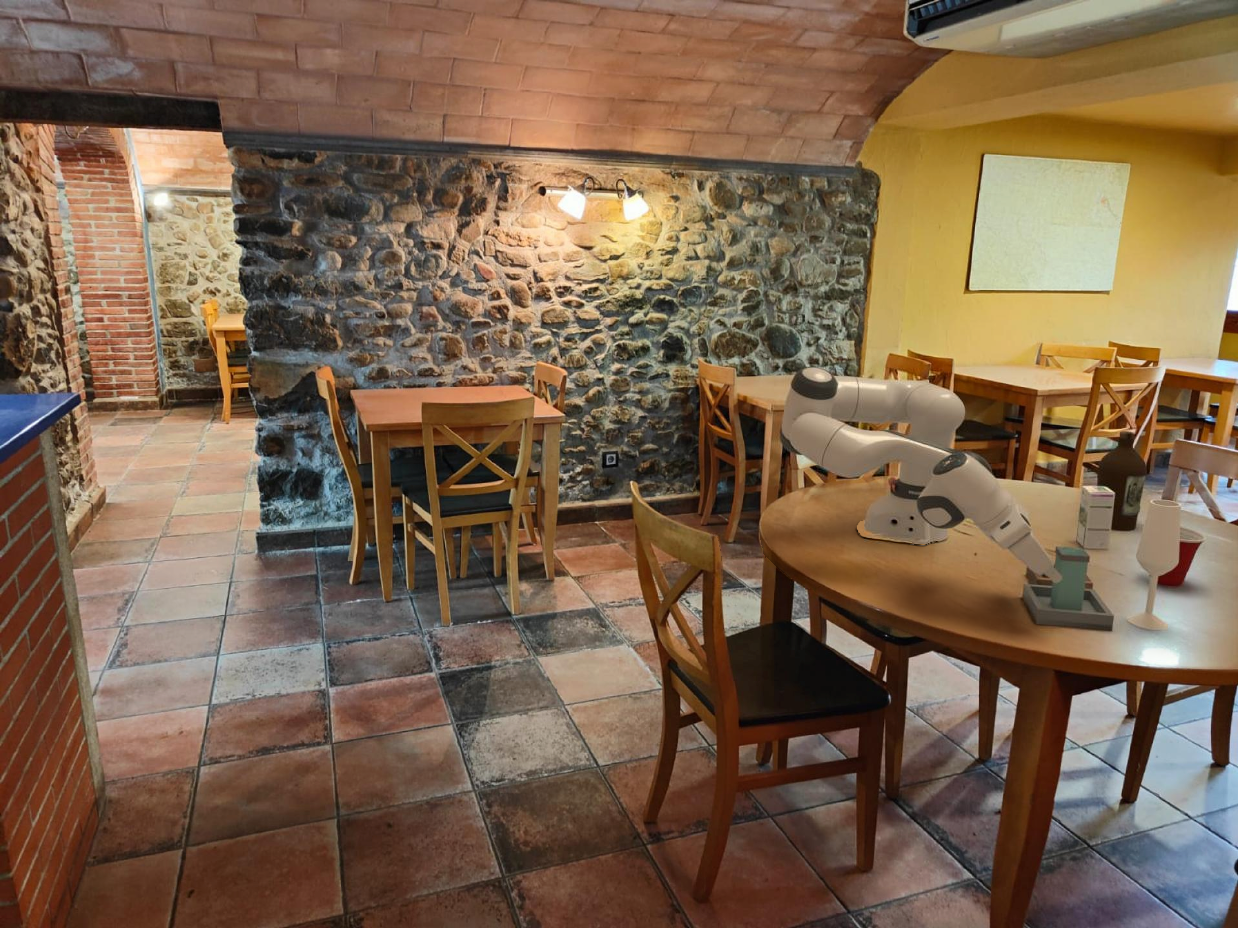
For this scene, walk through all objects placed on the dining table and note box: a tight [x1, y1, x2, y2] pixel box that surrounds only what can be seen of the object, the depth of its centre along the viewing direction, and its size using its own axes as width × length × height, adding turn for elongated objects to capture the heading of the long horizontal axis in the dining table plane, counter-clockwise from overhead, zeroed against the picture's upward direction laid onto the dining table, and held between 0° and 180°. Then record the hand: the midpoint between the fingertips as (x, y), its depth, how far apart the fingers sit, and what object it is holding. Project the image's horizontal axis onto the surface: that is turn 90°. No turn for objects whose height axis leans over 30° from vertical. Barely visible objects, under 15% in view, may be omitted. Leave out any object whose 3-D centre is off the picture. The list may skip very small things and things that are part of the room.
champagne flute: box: [1126, 499, 1182, 631], centre depth 149 cm, size 7×7×24 cm
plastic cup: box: [1149, 525, 1207, 588], centre depth 169 cm, size 11×11×12 cm
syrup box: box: [1075, 485, 1115, 551], centre depth 192 cm, size 6×6×14 cm
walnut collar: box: [1025, 563, 1094, 589], centre depth 170 cm, size 10×10×3 cm
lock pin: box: [1050, 546, 1091, 611], centre depth 155 cm, size 5×5×12 cm
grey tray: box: [1021, 583, 1115, 632], centre depth 156 cm, size 13×13×3 cm
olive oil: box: [1096, 430, 1148, 532], centre depth 205 cm, size 11×11×25 cm
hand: (1052, 570), depth 155 cm, fingers open, 8 cm apart
